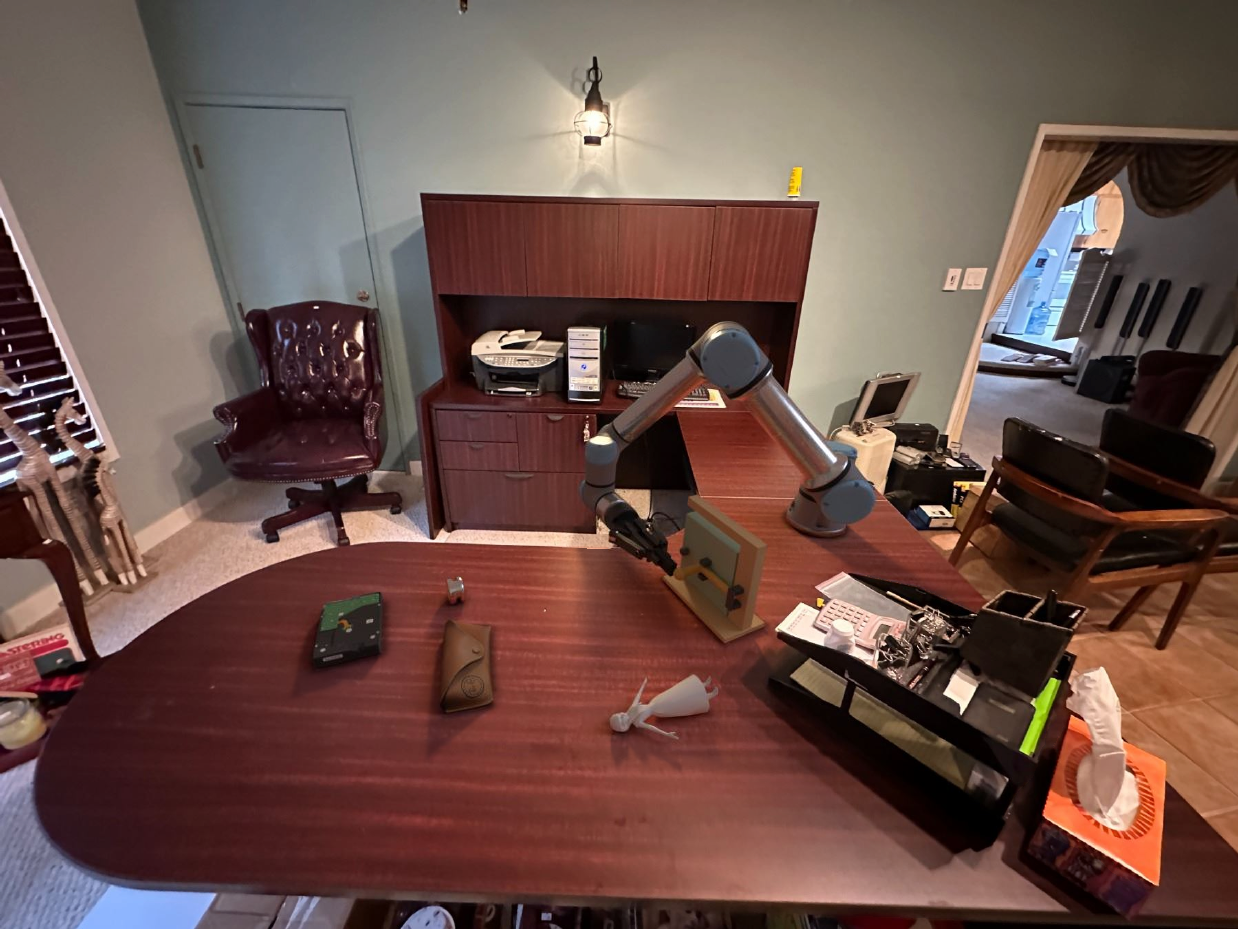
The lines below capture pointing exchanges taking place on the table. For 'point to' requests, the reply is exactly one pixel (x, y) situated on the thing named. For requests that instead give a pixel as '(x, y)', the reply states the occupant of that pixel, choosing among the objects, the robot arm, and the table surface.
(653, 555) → the robot arm
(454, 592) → the grooved metal pulley
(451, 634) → the sunglasses case
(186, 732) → the table surface
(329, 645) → the disk drive
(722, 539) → the door
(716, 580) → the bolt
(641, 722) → the woman figurine
